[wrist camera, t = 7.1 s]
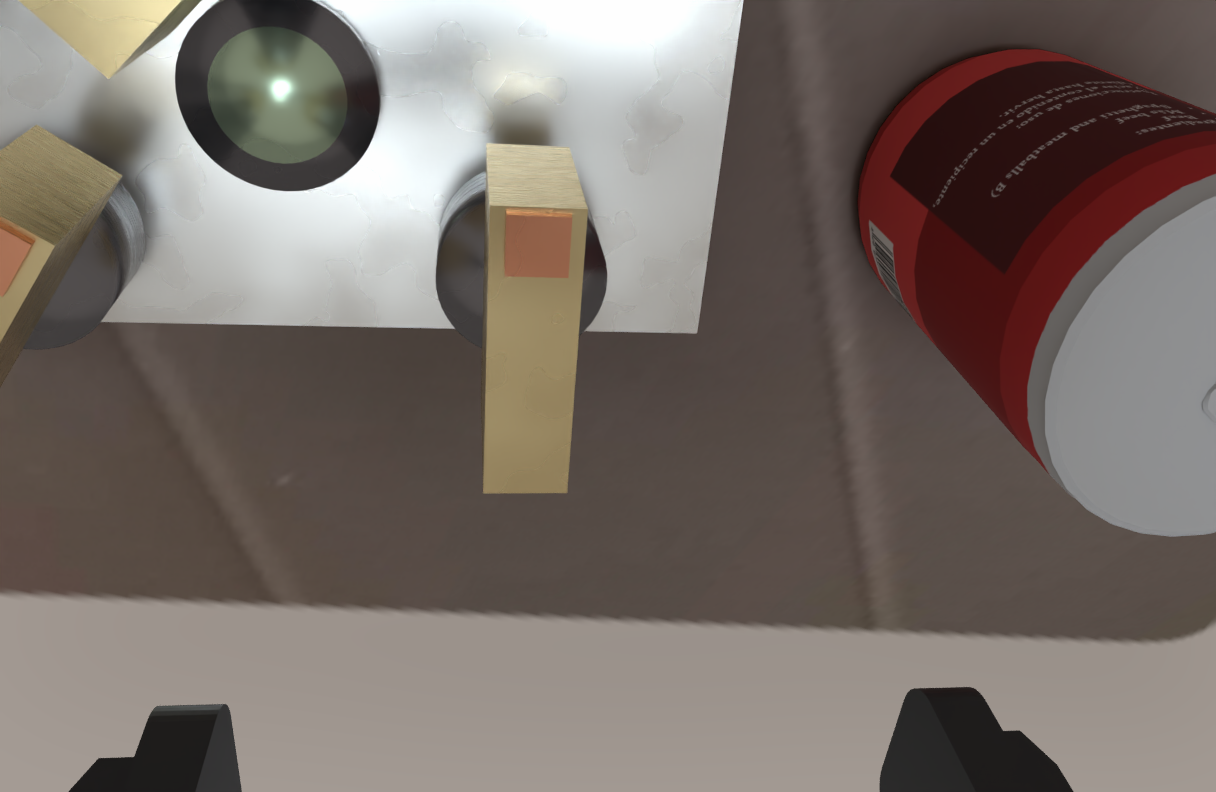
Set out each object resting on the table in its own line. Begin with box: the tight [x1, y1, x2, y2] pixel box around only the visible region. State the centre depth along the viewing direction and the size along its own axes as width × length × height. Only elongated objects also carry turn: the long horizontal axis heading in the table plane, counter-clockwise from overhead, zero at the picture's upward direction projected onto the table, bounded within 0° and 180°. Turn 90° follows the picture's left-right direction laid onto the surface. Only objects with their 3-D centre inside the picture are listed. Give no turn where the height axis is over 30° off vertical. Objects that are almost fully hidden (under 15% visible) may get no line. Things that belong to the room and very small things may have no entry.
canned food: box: [858, 49, 1216, 537], centre depth 23 cm, size 8×8×11 cm
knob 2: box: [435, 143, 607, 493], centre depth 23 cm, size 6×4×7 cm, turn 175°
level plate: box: [0, 0, 743, 333], centre depth 23 cm, size 20×12×2 cm, turn 85°
